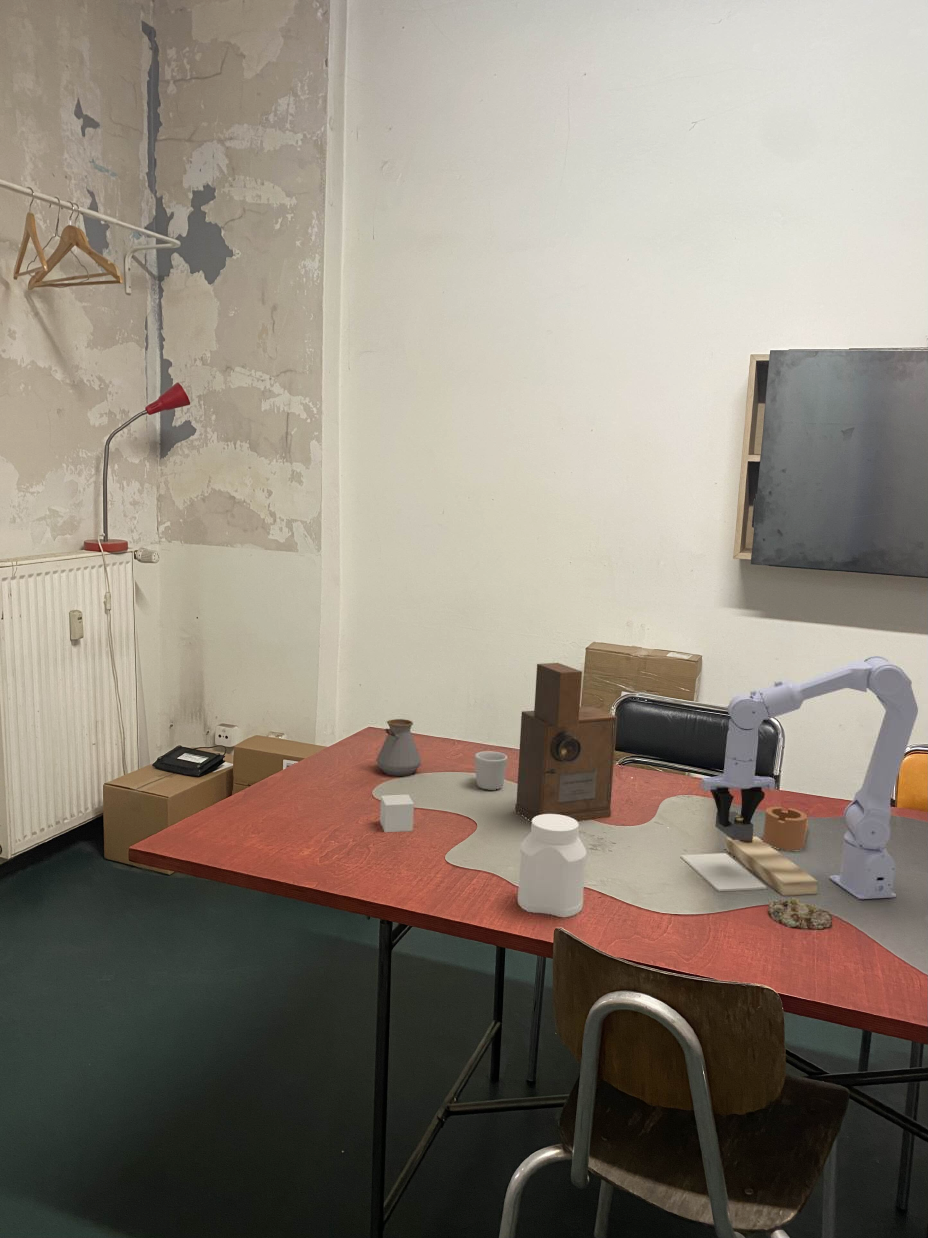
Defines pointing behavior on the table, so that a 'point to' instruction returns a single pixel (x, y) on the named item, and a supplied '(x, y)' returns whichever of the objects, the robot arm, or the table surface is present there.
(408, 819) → the white cube
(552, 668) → the vintage camera
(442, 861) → the table surface
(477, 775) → the cup
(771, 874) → the body
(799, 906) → the mineral rock
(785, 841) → the bracket
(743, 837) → the lever cap
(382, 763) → the coffee pot
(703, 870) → the mat
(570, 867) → the jar
